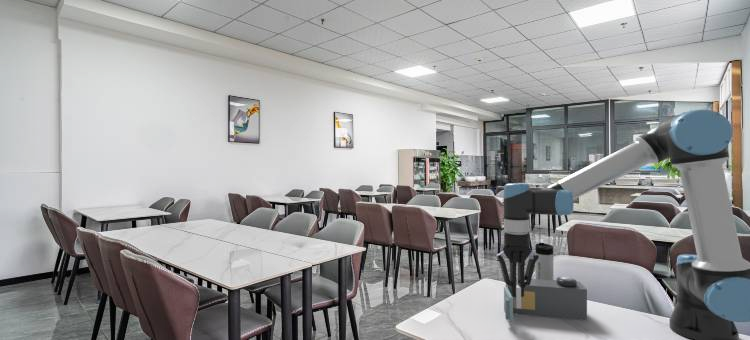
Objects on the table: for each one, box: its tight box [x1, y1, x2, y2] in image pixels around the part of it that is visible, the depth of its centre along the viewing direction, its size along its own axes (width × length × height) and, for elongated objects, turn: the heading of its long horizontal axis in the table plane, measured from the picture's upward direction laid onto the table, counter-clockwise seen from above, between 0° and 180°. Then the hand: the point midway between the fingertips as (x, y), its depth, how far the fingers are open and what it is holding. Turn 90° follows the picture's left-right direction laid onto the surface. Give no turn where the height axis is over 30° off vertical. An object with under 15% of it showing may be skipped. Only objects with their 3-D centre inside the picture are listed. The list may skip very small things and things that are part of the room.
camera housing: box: [505, 276, 588, 321], centre depth 123 cm, size 24×8×12 cm, turn 75°
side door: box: [503, 286, 514, 324], centre depth 117 cm, size 10×2×8 cm, turn 170°
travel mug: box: [534, 242, 554, 280], centre depth 137 cm, size 6×7×20 cm
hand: (517, 306), depth 113 cm, fingers closed
